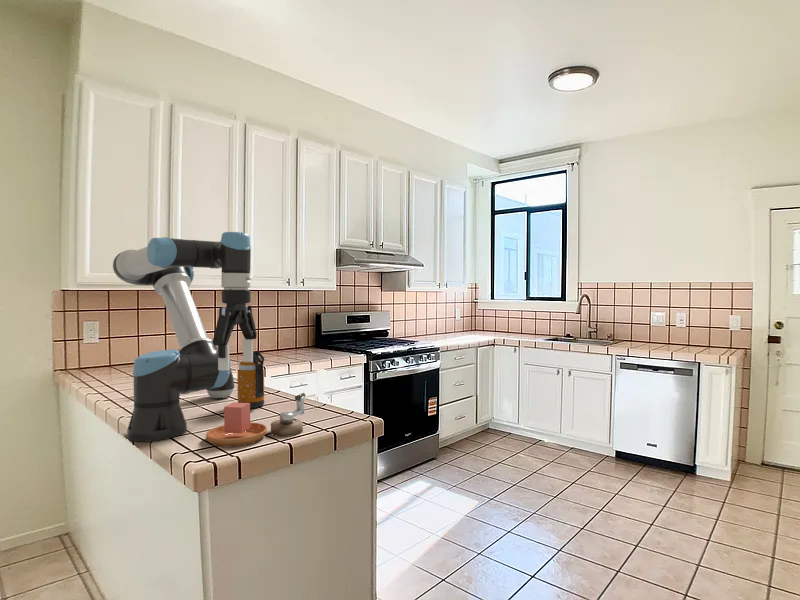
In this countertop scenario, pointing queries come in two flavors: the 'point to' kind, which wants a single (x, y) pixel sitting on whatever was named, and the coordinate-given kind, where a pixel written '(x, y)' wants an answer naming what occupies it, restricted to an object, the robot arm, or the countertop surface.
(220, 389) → the black rounded egg shape
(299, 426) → the hub plate
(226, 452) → the countertop surface
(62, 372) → the countertop surface
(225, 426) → the block
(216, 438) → the saucer
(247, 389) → the canister
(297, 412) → the crank
